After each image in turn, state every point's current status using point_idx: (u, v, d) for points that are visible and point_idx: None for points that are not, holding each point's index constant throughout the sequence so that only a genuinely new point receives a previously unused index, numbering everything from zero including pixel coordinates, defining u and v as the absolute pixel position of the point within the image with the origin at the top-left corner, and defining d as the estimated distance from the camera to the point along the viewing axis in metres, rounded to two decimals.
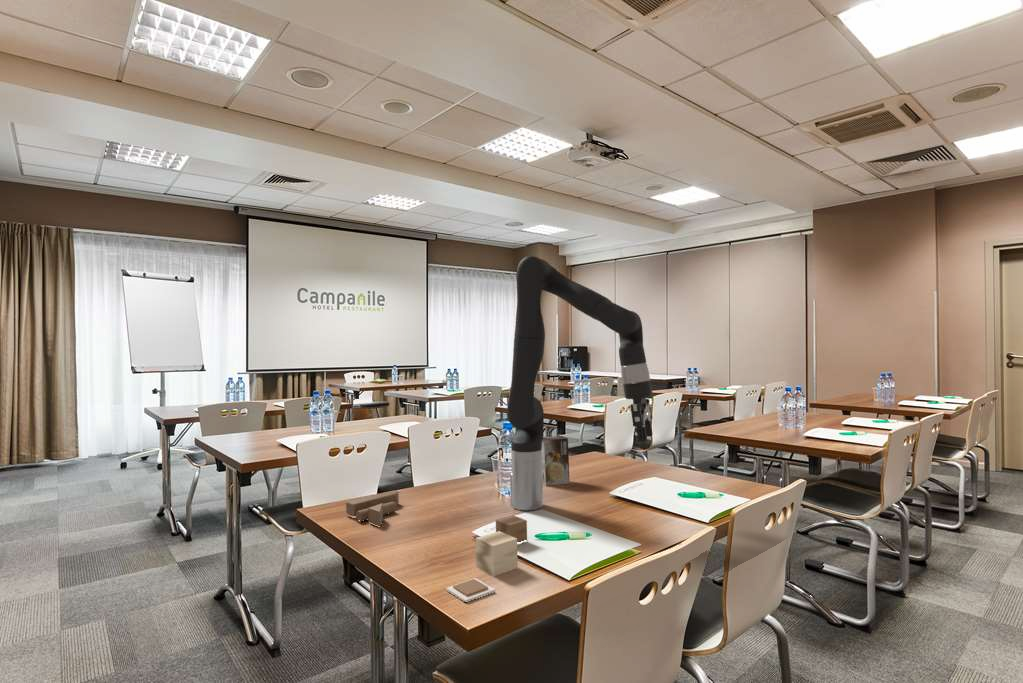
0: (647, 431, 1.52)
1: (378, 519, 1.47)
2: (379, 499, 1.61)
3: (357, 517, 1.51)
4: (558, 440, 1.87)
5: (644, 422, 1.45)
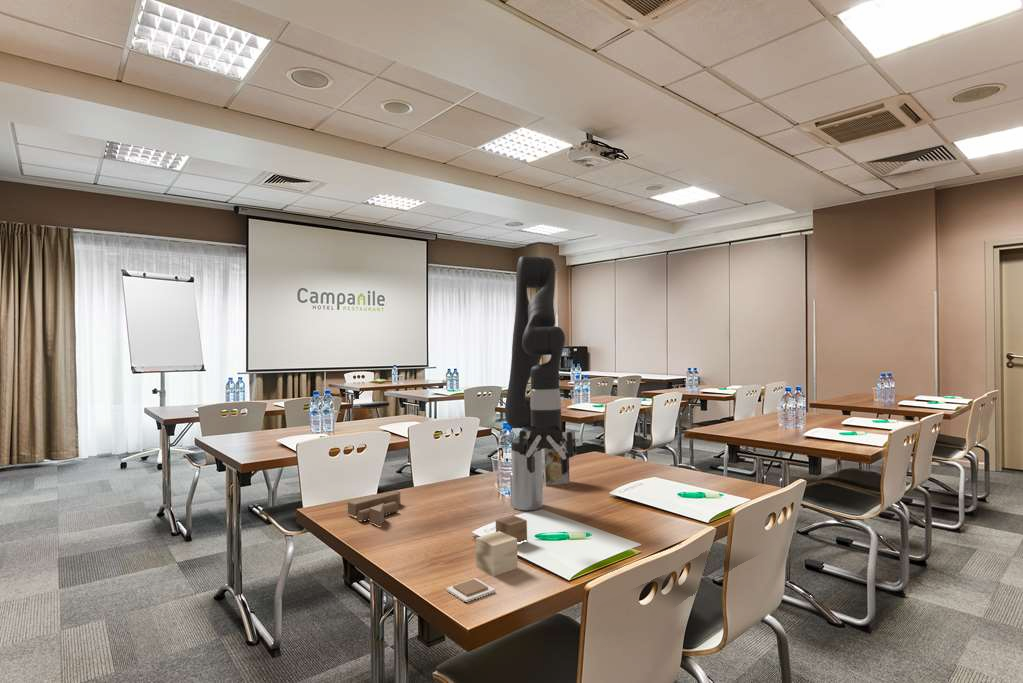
0: None
1: (379, 519, 1.46)
2: (381, 499, 1.61)
3: (358, 517, 1.52)
4: None
5: (530, 453, 1.33)
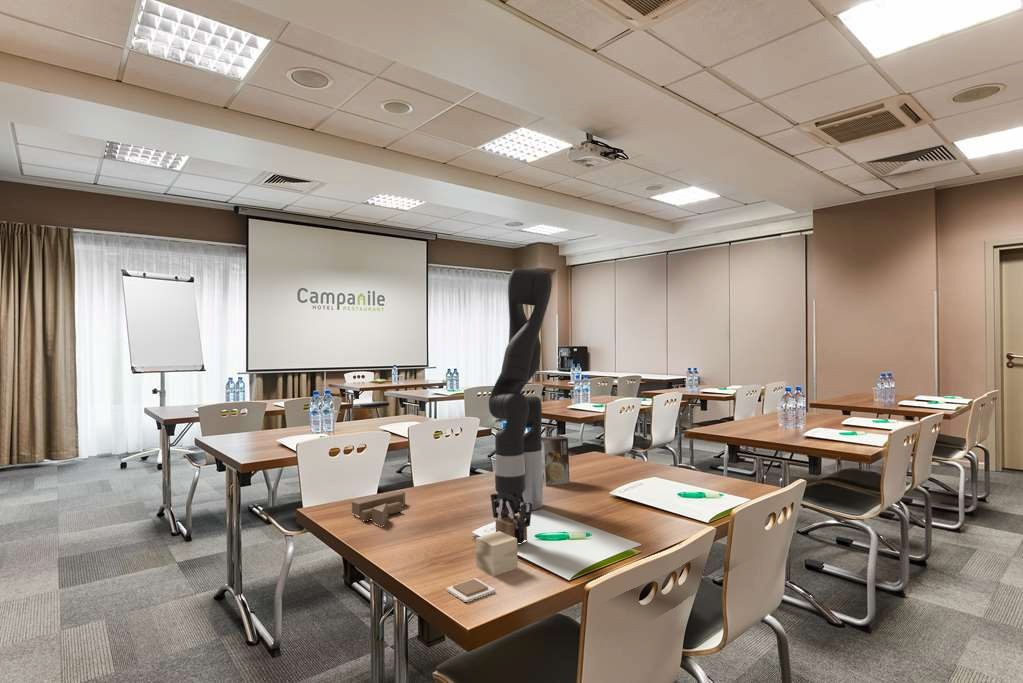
0: None
1: (381, 519, 1.46)
2: (385, 499, 1.61)
3: (361, 517, 1.52)
4: (558, 440, 1.87)
5: (500, 517, 1.35)
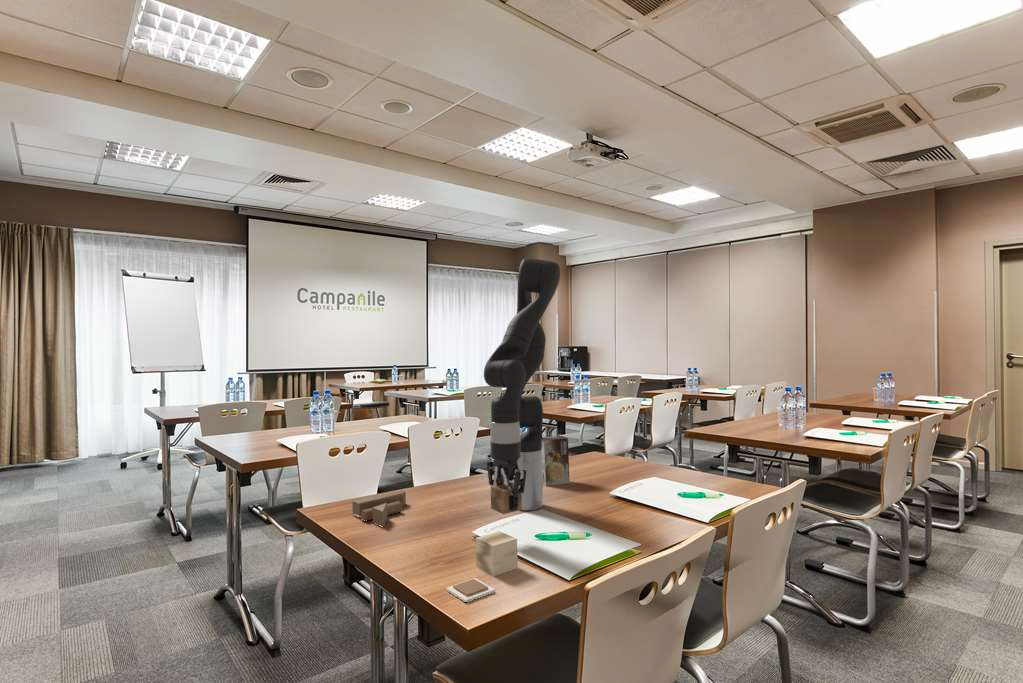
0: None
1: (381, 519, 1.46)
2: (385, 499, 1.61)
3: (362, 516, 1.52)
4: (558, 440, 1.87)
5: (495, 484, 1.35)
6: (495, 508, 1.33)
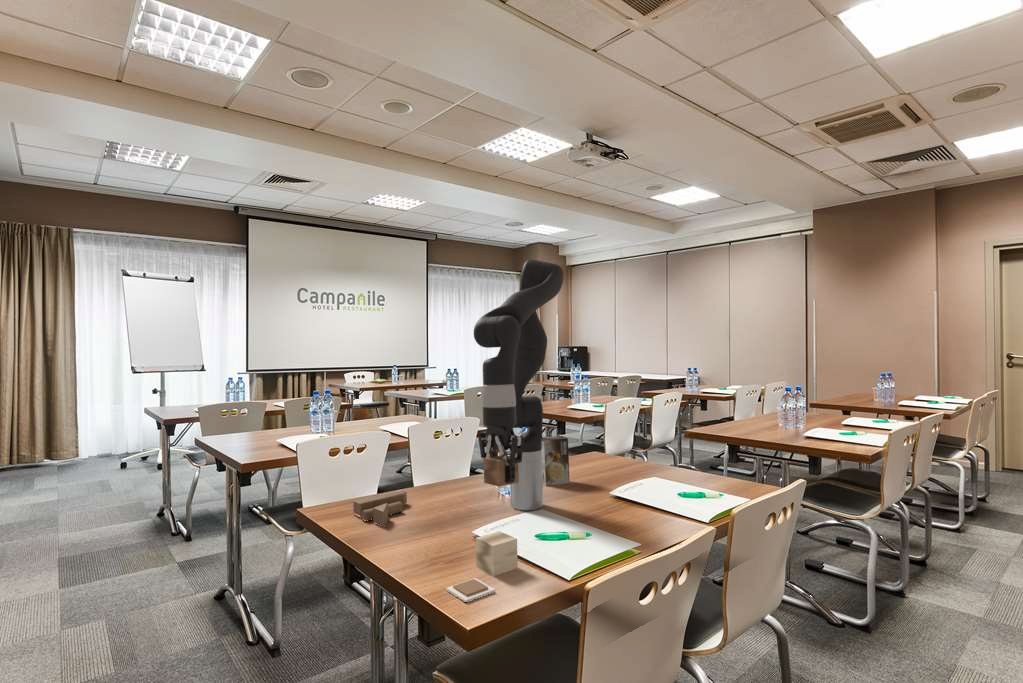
0: None
1: (382, 519, 1.46)
2: (386, 499, 1.61)
3: (362, 516, 1.52)
4: (558, 440, 1.87)
5: (488, 456, 1.22)
6: (489, 481, 1.19)
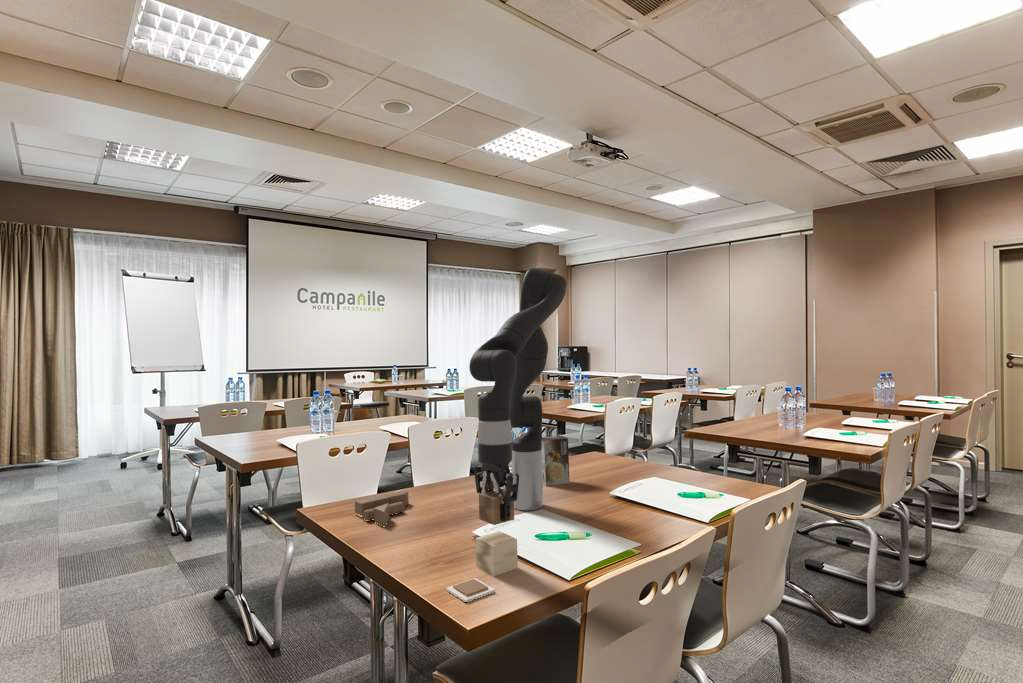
0: None
1: (383, 519, 1.46)
2: (388, 499, 1.61)
3: (364, 516, 1.52)
4: (558, 440, 1.87)
5: (484, 492, 1.20)
6: (484, 518, 1.17)
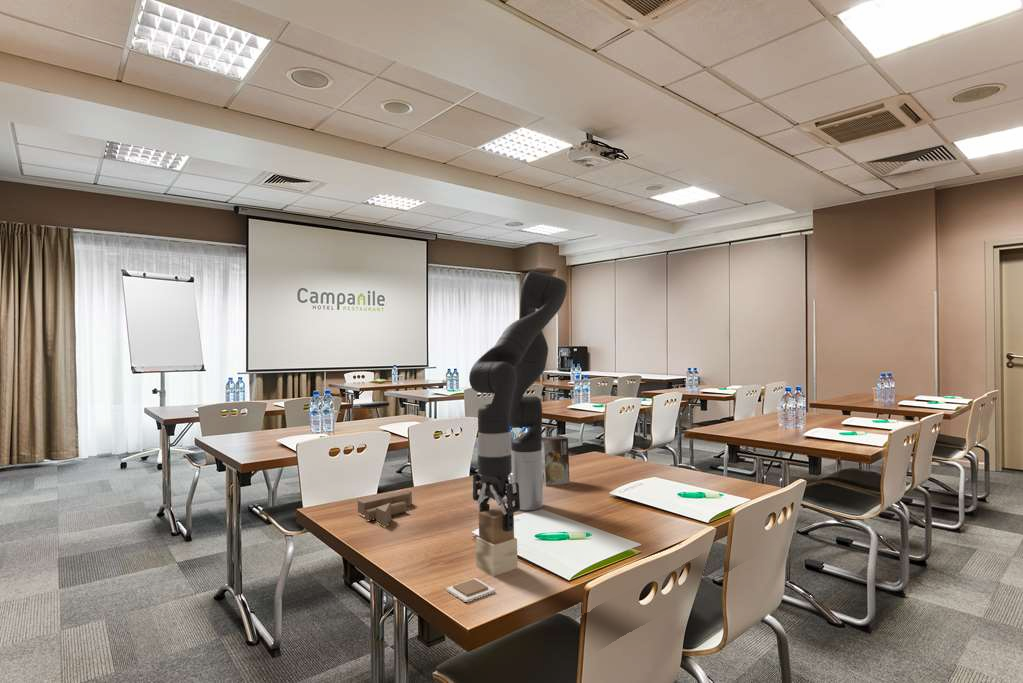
0: None
1: (384, 519, 1.46)
2: (390, 498, 1.61)
3: (366, 516, 1.52)
4: (558, 440, 1.87)
5: (480, 500, 1.20)
6: (484, 537, 1.17)
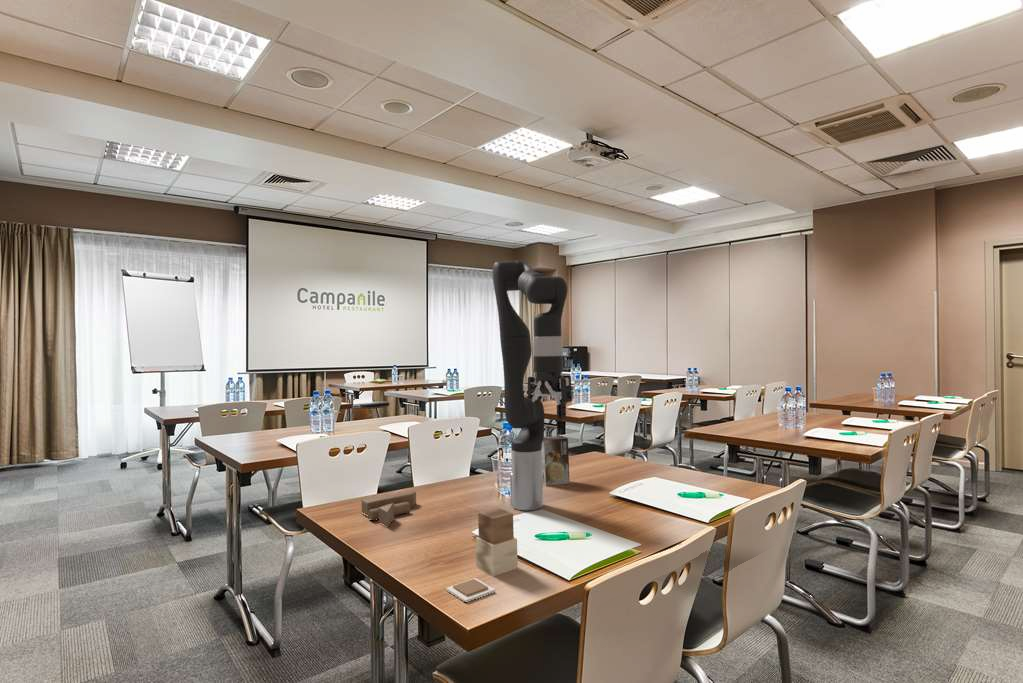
0: None
1: (386, 519, 1.46)
2: (394, 499, 1.61)
3: (369, 516, 1.52)
4: (558, 440, 1.87)
5: (535, 398, 1.39)
6: (483, 537, 1.17)
